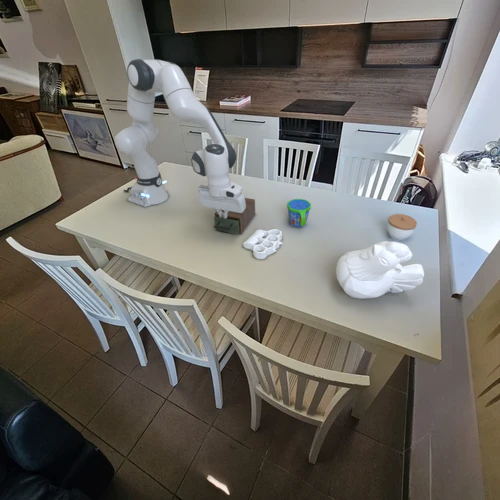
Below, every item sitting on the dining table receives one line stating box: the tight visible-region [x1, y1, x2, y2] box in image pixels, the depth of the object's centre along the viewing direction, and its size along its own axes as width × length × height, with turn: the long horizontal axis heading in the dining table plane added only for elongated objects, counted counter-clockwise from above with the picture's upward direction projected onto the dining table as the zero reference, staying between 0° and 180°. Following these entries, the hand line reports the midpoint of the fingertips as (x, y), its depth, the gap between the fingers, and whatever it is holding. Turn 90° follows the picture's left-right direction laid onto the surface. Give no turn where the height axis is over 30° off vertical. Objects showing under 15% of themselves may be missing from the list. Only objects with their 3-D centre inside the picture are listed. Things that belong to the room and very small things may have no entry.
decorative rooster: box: [335, 240, 425, 300], centre depth 88 cm, size 25×16×25 cm
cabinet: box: [214, 197, 256, 235], centre depth 132 cm, size 18×13×9 cm
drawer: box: [213, 215, 240, 235], centre depth 128 cm, size 21×11×7 cm, turn 158°
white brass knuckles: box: [242, 228, 284, 260], centre depth 118 cm, size 3×18×15 cm
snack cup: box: [286, 198, 312, 228], centre depth 128 cm, size 16×10×10 cm
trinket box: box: [386, 213, 418, 241], centre depth 117 cm, size 11×11×9 cm
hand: (223, 217), depth 119 cm, fingers closed
